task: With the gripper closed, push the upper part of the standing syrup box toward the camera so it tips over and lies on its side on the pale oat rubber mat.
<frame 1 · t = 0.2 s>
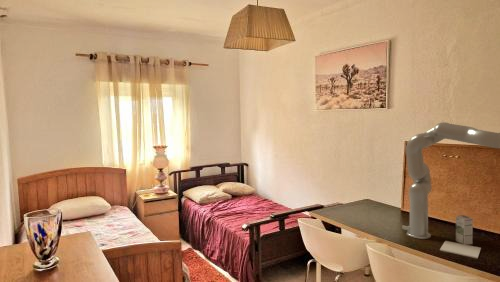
syrup box: (463, 243, 174), on the table
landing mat: (460, 249, 165), on the table
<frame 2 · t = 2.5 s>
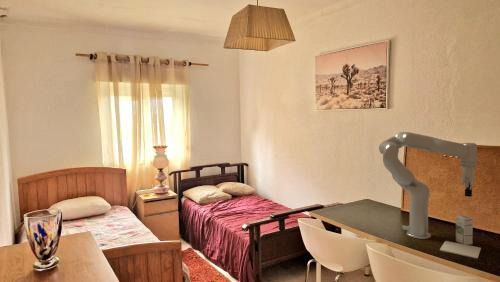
hand: (468, 196, 182), 23 cm above the table, tool pointing down, fingers closed
nothing on the table moved.
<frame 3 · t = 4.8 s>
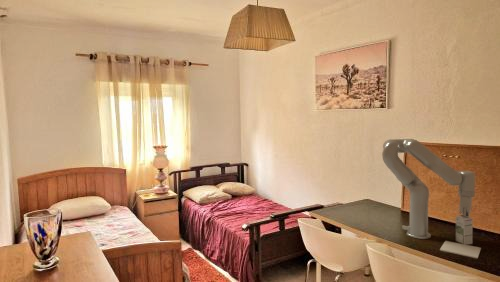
hand: (465, 225, 178), 8 cm above the table, tool pointing down, fingers closed
syrup box: (463, 242, 174), on the table, touching gripper
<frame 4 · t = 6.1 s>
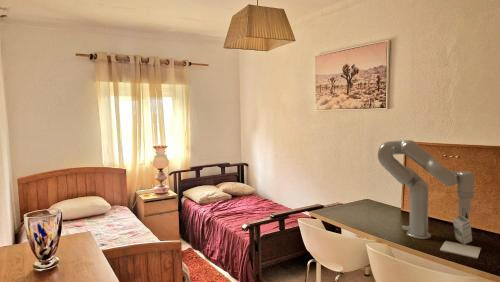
hand: (465, 227, 174), 8 cm above the table, tool pointing down, fingers closed
syrup box: (463, 240, 174), point 2 cm above the table, touching gripper
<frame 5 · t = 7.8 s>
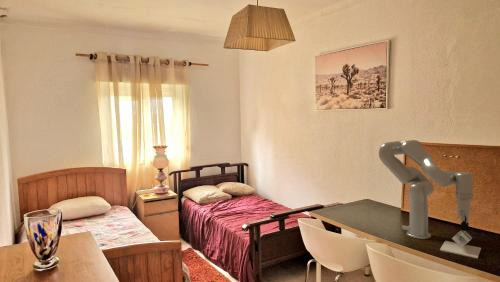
hand: (464, 229, 168), 9 cm above the table, tool pointing down, fingers closed
syrup box: (463, 236, 172), point 4 cm above the table, touching gripper, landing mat
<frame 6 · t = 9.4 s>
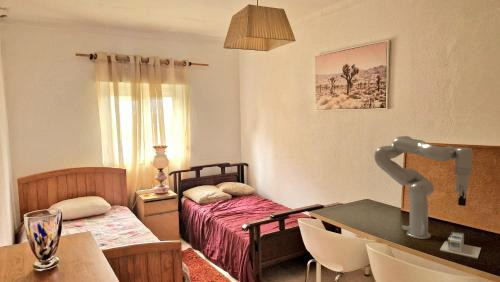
hand: (461, 205, 168), 22 cm above the table, tool pointing down, fingers closed
syrup box: (457, 237, 173), point 3 cm above the table, touching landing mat
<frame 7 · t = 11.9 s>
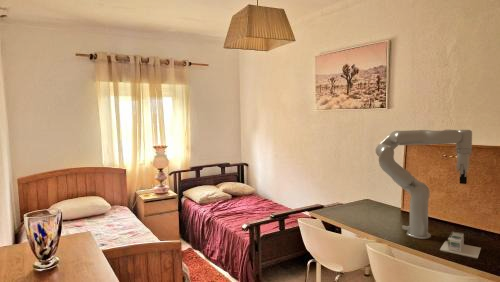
hand: (463, 183, 181), 31 cm above the table, tool pointing down, fingers closed
nothing on the table moved.
at the end: syrup box tilted 89°; syrup box touching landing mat; syrup box inside the target area (2.7 cm from its centre), point 3.3 cm above the table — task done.
